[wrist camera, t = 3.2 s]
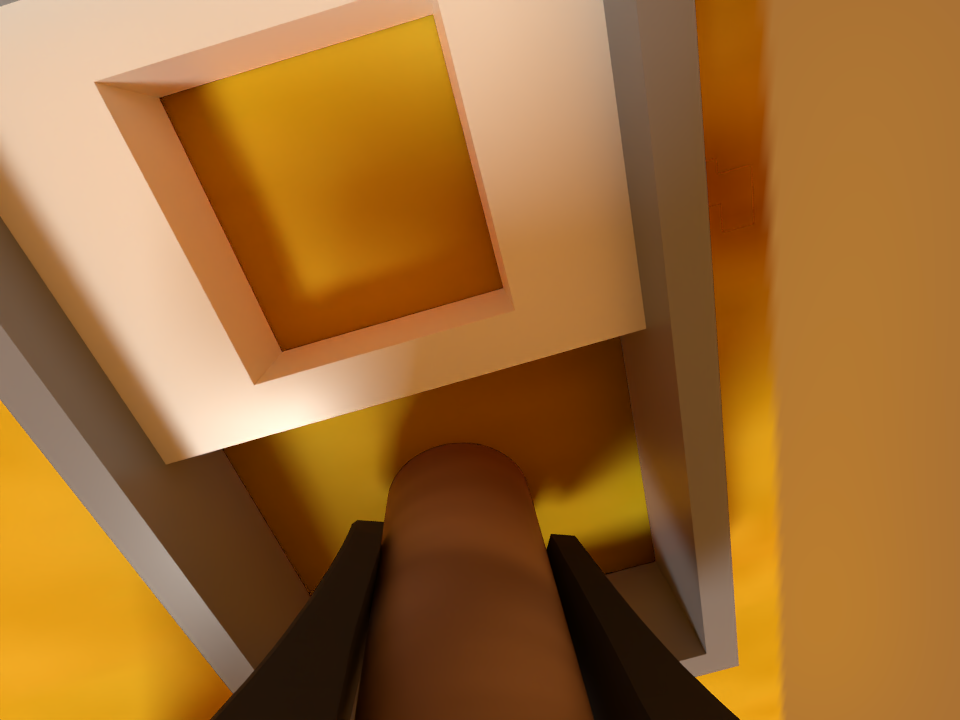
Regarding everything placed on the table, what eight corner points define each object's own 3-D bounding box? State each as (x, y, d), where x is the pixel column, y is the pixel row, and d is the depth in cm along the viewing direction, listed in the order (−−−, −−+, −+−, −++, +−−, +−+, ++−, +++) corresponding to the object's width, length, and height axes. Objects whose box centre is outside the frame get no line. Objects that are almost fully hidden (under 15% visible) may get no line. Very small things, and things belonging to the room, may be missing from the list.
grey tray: (682, 572, 15) (738, 665, 12) (325, 668, 15) (301, 780, 12) (587, -182, 8) (669, -375, 5) (-81, 28, 8) (-351, -44, 5)
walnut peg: (443, 577, 14) (449, 1030, 7) (357, 493, 13) (244, 952, 5) (555, 512, 13) (697, 930, 6) (478, 416, 12) (541, 813, 5)
